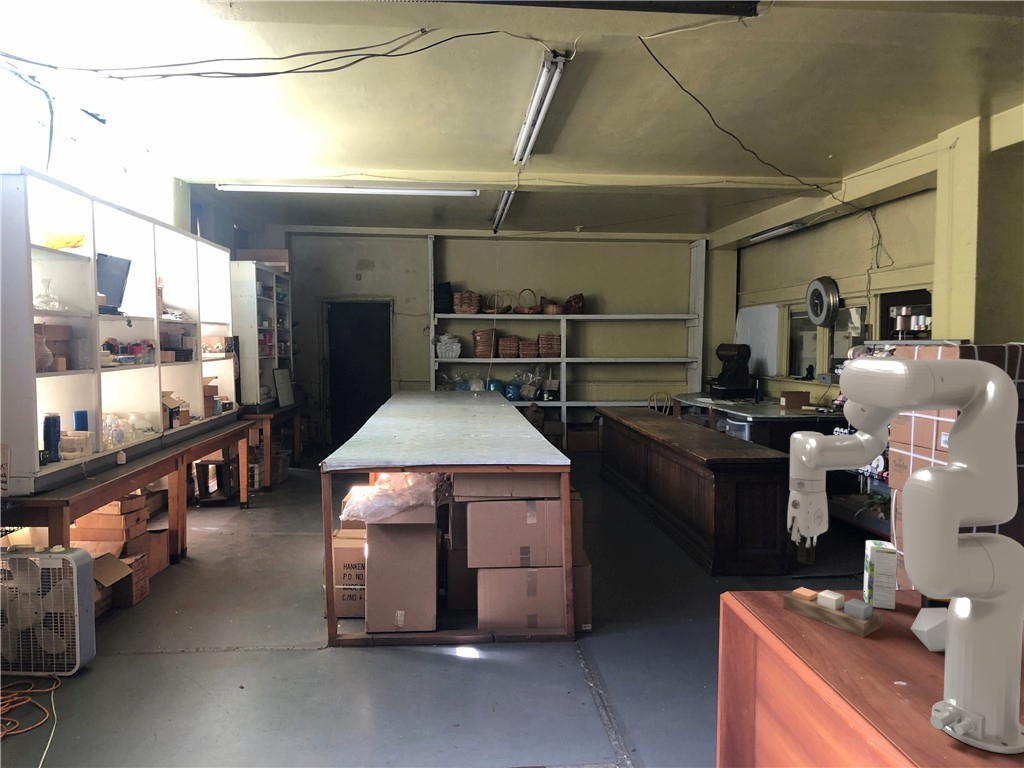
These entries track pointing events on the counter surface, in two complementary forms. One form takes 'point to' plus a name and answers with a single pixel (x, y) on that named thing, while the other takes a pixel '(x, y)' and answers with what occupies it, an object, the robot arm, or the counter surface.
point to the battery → (934, 602)
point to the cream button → (830, 599)
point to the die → (931, 628)
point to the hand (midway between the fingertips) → (805, 562)
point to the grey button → (858, 609)
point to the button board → (832, 616)
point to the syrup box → (880, 574)
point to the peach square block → (805, 594)
